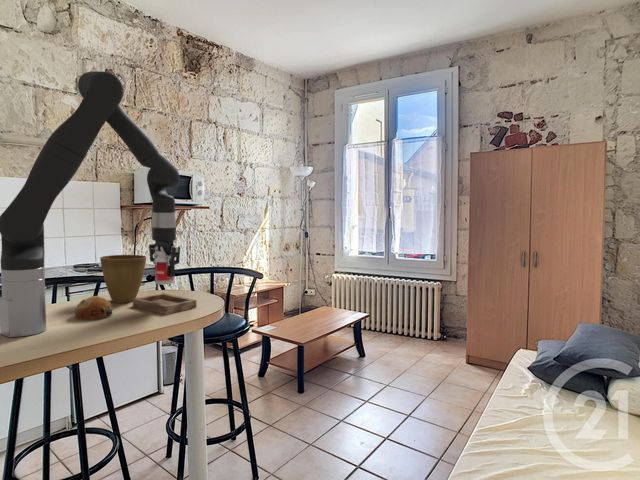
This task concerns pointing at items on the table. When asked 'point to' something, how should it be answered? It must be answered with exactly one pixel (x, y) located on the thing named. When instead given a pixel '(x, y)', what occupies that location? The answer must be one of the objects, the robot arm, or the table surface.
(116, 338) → the table surface
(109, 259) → the plant pot
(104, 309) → the bread roll
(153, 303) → the shallow rectangular tray
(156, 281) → the pill bottle
